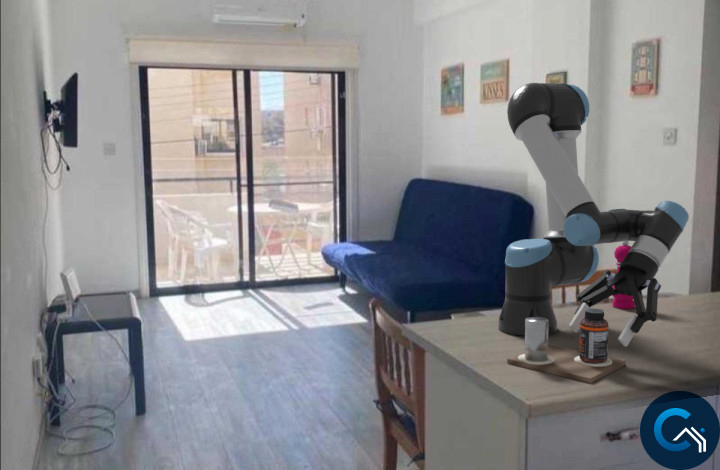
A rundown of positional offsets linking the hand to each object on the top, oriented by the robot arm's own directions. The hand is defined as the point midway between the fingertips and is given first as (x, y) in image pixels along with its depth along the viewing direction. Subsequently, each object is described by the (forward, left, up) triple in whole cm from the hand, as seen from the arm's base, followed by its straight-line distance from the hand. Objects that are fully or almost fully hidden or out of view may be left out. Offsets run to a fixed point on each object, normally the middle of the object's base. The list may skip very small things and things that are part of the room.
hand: (596, 335), depth 153 cm
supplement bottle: (-1, 0, -6) cm, 6 cm away
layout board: (-6, -3, -7) cm, 9 cm away
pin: (-11, -7, -7) cm, 14 cm away
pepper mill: (-20, +57, -7) cm, 60 cm away
